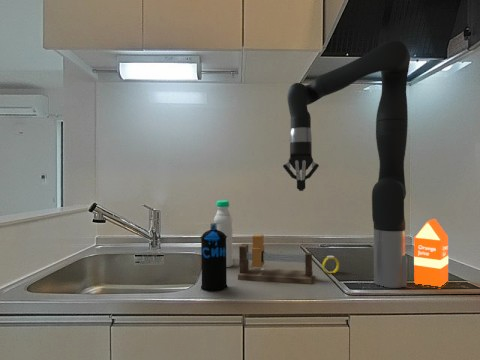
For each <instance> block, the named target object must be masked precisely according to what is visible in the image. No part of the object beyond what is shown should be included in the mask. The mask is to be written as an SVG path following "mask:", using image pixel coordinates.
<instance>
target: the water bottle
mask: <svg viewBox="0 0 480 360" xmlns="http://www.w3.org/2000/svg"><path fill="white" fill-rule="evenodd" d="M216 207H217V212H216V213H215V216H214V218H213V223H217V230H219V231H221V232H223V233H224V234H225V235H226V236H227V238H226V268H230V267H232V266H233V264H234V262H233V218H232V215H231V213H230V211H229V207H230V201H229V200H217V201H216Z"/></svg>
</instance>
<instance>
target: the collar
mask: <svg viewBox="0 0 480 360" xmlns="http://www.w3.org/2000/svg"><path fill="white" fill-rule="evenodd" d="M264 239H265V238H264V234H262V233H261V234H260V233H259V234H258V233H257V234H254V235H252V248H251V252H252V260H251V262H252V263H251V266H252V267H251V268H261V269H262V267H263V265H265V261H262V251H263V252H265V245H264V243H265V241H264Z"/></svg>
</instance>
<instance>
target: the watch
mask: <svg viewBox="0 0 480 360" xmlns="http://www.w3.org/2000/svg"><path fill="white" fill-rule="evenodd" d="M329 260H334V261H335V263H336V267H335V269H334V270H332V271H327V270H326V263H327V261H329ZM321 265H322V266H321V267H322V270H323V272H324V273H326V274H328V273H330V274H336V273H337V272H338V271H339V269H340V262H339V259H337V258H336V257H335V256H334V255H327V256H326V258H324V259H323V261H322V264H321Z"/></svg>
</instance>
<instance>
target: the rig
mask: <svg viewBox="0 0 480 360" xmlns="http://www.w3.org/2000/svg"><path fill="white" fill-rule="evenodd" d="M238 249H239V251H238V253H239V256H238V257H239V260H238V261H239V273H238V274H237V280H240V281H257V282H258V281H259V282H276V283H288V284H289V283H292V284H306V285H307V284H309V285H311V284H312V281H313V276H314V273H313V253H312V252H305V253H304V254H305V264H304V266H305V268H304V269H305V270H299V269H298V270H295V269H279V268H277V269H276V268H262V267H261V268H260V267H249V261H250V260H246V252H247V251H249V244H248V243H242V244H241V245H239V248H238Z"/></svg>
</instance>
